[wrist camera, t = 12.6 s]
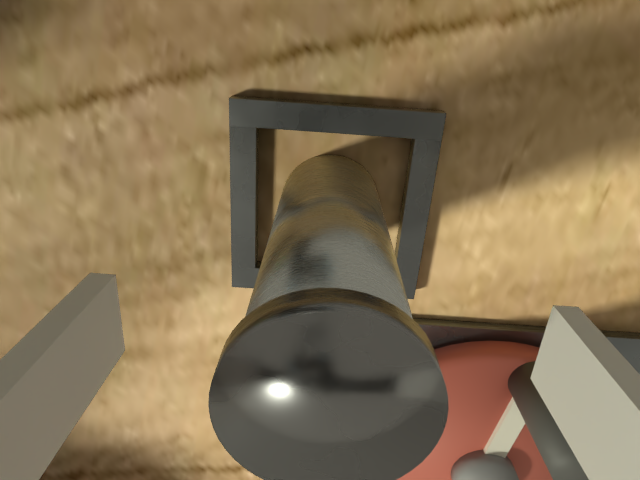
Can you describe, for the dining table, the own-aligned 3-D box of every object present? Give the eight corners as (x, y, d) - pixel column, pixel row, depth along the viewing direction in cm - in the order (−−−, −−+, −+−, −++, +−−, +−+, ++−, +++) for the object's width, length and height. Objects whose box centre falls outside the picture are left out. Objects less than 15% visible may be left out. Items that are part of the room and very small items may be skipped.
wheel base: (347, 313, 26) (348, 319, 25) (650, 334, 26) (657, 340, 26) (326, 514, 33) (326, 522, 32) (564, 529, 33) (568, 538, 33)
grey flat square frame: (232, 95, 21) (229, 98, 20) (442, 110, 21) (446, 113, 21) (234, 279, 25) (232, 286, 24) (411, 291, 25) (413, 299, 25)
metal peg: (277, 144, 22) (203, 303, 9) (390, 152, 22) (470, 322, 9) (274, 246, 24) (212, 487, 12) (377, 253, 24) (427, 501, 12)
